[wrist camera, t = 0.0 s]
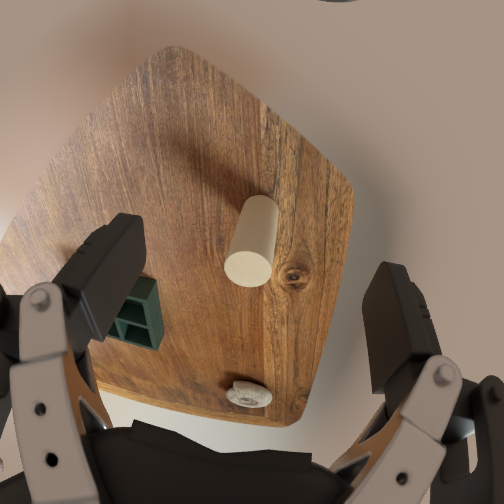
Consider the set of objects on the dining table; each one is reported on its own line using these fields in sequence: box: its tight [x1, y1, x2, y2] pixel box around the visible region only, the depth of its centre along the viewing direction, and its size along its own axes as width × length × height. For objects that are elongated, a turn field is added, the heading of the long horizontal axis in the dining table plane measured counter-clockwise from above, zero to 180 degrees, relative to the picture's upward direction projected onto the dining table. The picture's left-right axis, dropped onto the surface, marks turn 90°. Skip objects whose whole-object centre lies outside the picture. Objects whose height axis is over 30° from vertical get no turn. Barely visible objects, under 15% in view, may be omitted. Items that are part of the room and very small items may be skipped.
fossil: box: [226, 381, 272, 408], centre depth 58 cm, size 11×4×10 cm
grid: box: [106, 277, 164, 351], centre depth 45 cm, size 13×13×4 cm
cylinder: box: [224, 195, 279, 287], centre depth 29 cm, size 4×4×10 cm
